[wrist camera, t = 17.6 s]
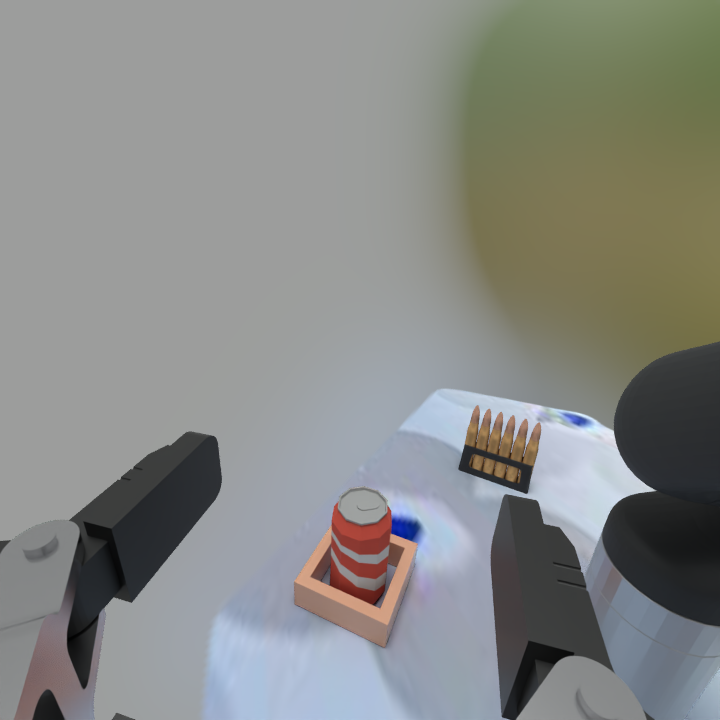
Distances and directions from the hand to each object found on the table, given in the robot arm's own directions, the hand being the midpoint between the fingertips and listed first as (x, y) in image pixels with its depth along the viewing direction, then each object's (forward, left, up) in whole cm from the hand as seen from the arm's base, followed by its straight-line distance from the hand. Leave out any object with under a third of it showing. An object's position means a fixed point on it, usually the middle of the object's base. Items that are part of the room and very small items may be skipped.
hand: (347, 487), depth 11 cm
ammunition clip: (-37, -30, -34) cm, 59 cm away
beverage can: (-10, -20, -34) cm, 41 cm away
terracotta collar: (-10, -20, -34) cm, 41 cm away
